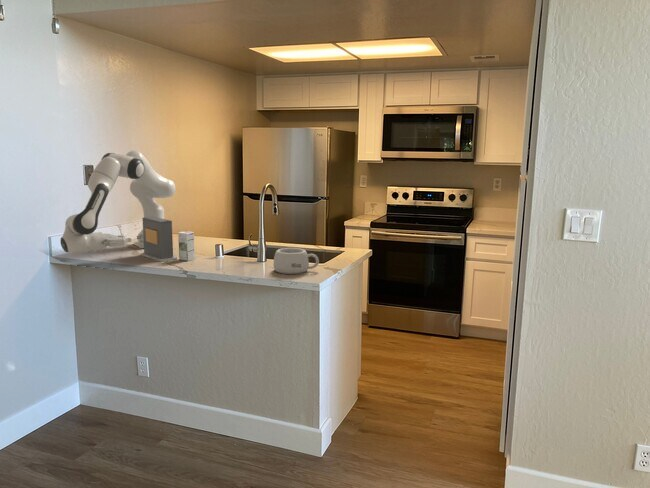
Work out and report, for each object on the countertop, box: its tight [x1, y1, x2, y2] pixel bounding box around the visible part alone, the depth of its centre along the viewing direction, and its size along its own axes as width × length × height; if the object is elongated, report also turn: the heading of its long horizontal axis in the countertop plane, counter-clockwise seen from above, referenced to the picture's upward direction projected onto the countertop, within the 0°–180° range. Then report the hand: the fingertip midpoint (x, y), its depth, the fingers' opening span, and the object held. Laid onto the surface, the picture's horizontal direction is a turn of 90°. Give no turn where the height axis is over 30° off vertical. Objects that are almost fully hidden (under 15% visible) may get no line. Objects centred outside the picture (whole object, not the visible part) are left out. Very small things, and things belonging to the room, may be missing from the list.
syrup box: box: [177, 230, 196, 262], centre depth 268 cm, size 6×6×14 cm
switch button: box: [145, 228, 158, 245], centre depth 271 cm, size 12×3×7 cm, turn 44°
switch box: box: [140, 217, 178, 263], centre depth 273 cm, size 22×9×20 cm, turn 44°
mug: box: [273, 247, 320, 275], centre depth 248 cm, size 21×17×10 cm
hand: (126, 238), depth 261 cm, fingers open, 8 cm apart
